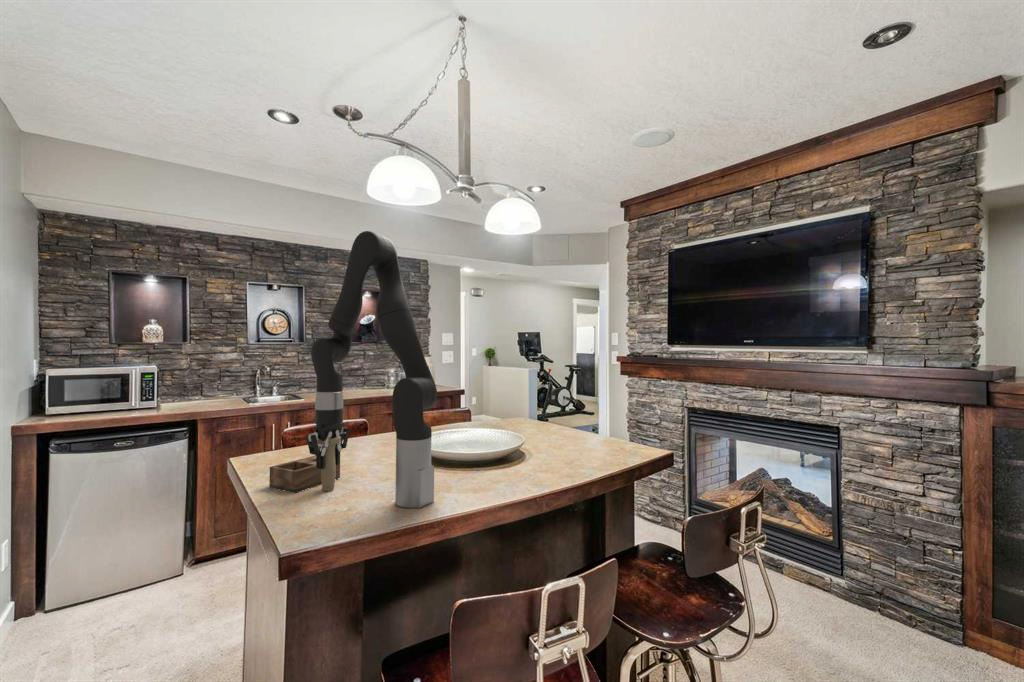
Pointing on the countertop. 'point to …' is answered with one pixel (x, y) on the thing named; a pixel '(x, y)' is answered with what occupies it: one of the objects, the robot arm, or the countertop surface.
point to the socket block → (297, 475)
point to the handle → (329, 465)
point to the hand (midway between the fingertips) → (328, 466)
